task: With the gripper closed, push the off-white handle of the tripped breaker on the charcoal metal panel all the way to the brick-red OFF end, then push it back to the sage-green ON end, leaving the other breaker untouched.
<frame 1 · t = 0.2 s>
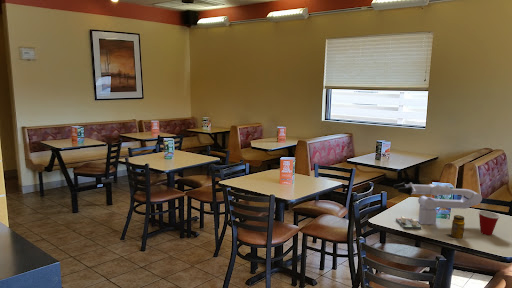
hand: (395, 188, 238), 21 cm above the table, tool horizontal, fingers open, 7 cm apart
condiment: (455, 237, 220), on the table
other breaker: (414, 222, 232), point 3 cm above the table, slide at 8.0 cm
breaker panel: (408, 224, 237), on the table
plastic cup: (486, 233, 226), on the table
tripped breaker: (403, 219, 236), point 3 cm above the table, slide at 4.0 cm
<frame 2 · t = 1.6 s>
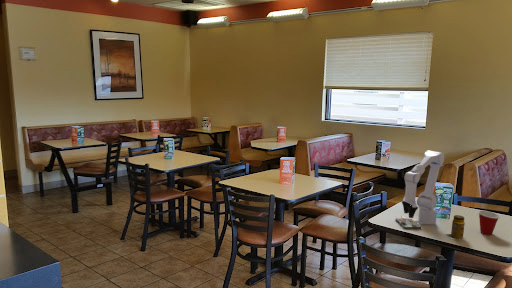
hand: (408, 215, 228), 8 cm above the table, tool pointing down, fingers open, 7 cm apart
nothing on the table moved.
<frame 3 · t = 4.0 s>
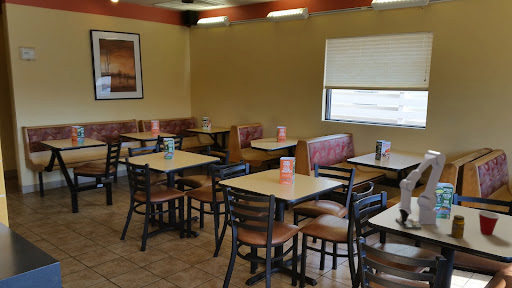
hand: (403, 221, 235), 2 cm above the table, tool pointing down, fingers closed
tripped breaker: (402, 218, 238), point 3 cm above the table, slide at 2.1 cm, touching gripper
everything else where it was.
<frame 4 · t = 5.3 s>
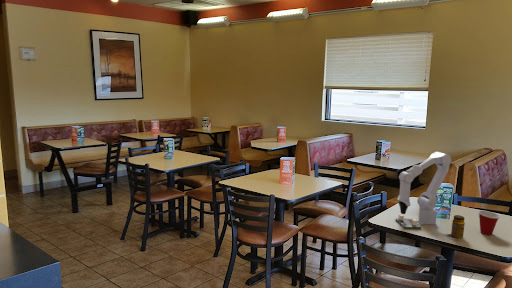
hand: (403, 213, 237), 6 cm above the table, tool pointing down, fingers closed
tripped breaker: (401, 217, 240), point 3 cm above the table, slide at -0.1 cm
everything else where it was.
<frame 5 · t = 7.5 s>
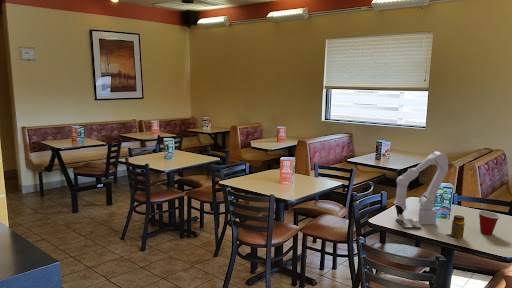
hand: (399, 217, 243), 2 cm above the table, tool pointing down, fingers closed
tripped breaker: (401, 217, 240), point 3 cm above the table, slide at 0.1 cm, touching gripper
everything else where it was.
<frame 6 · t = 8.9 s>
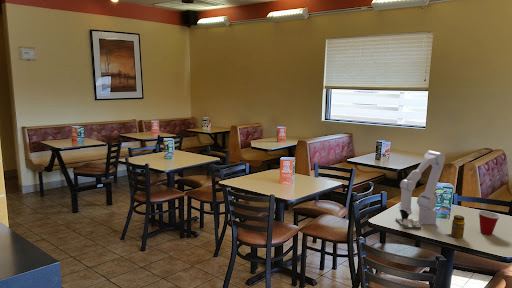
hand: (404, 221, 235), 2 cm above the table, tool pointing down, fingers closed
tripped breaker: (406, 222, 232), point 3 cm above the table, slide at 8.1 cm, touching gripper
everything else where it was.
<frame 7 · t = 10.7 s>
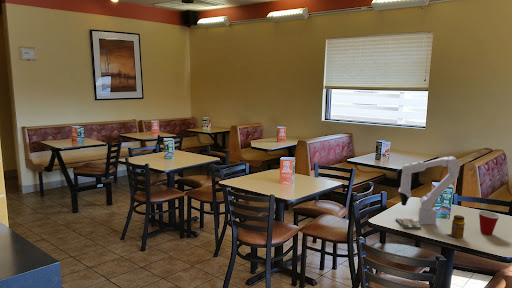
hand: (403, 205, 244), 9 cm above the table, tool pointing down, fingers closed
tripped breaker: (406, 222, 232), point 3 cm above the table, slide at 8.1 cm
everything else where it was.
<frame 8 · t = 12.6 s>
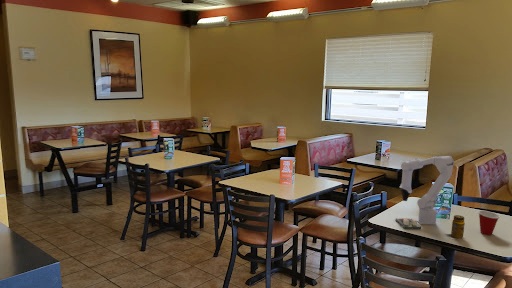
hand: (404, 200, 253), 9 cm above the table, tool pointing down, fingers closed
nothing on the table moved.
at the end: tripped breaker slide at 8.1 cm; other breaker slide at 8.0 cm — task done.
